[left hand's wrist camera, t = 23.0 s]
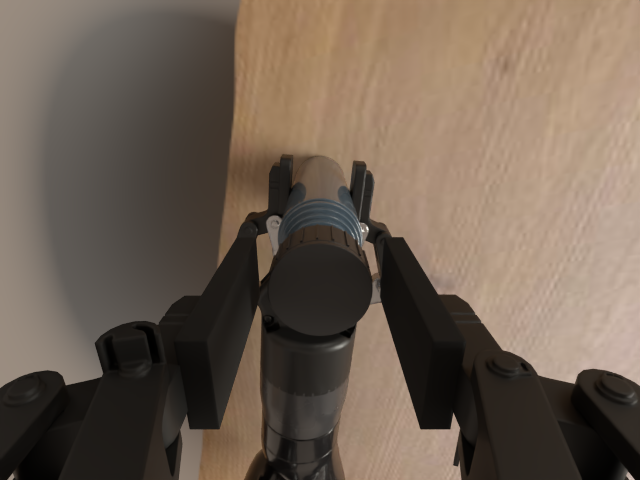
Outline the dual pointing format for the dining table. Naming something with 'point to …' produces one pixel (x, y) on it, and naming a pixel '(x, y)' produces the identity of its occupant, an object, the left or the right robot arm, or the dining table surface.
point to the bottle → (320, 200)
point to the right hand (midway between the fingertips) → (323, 160)
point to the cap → (320, 281)
